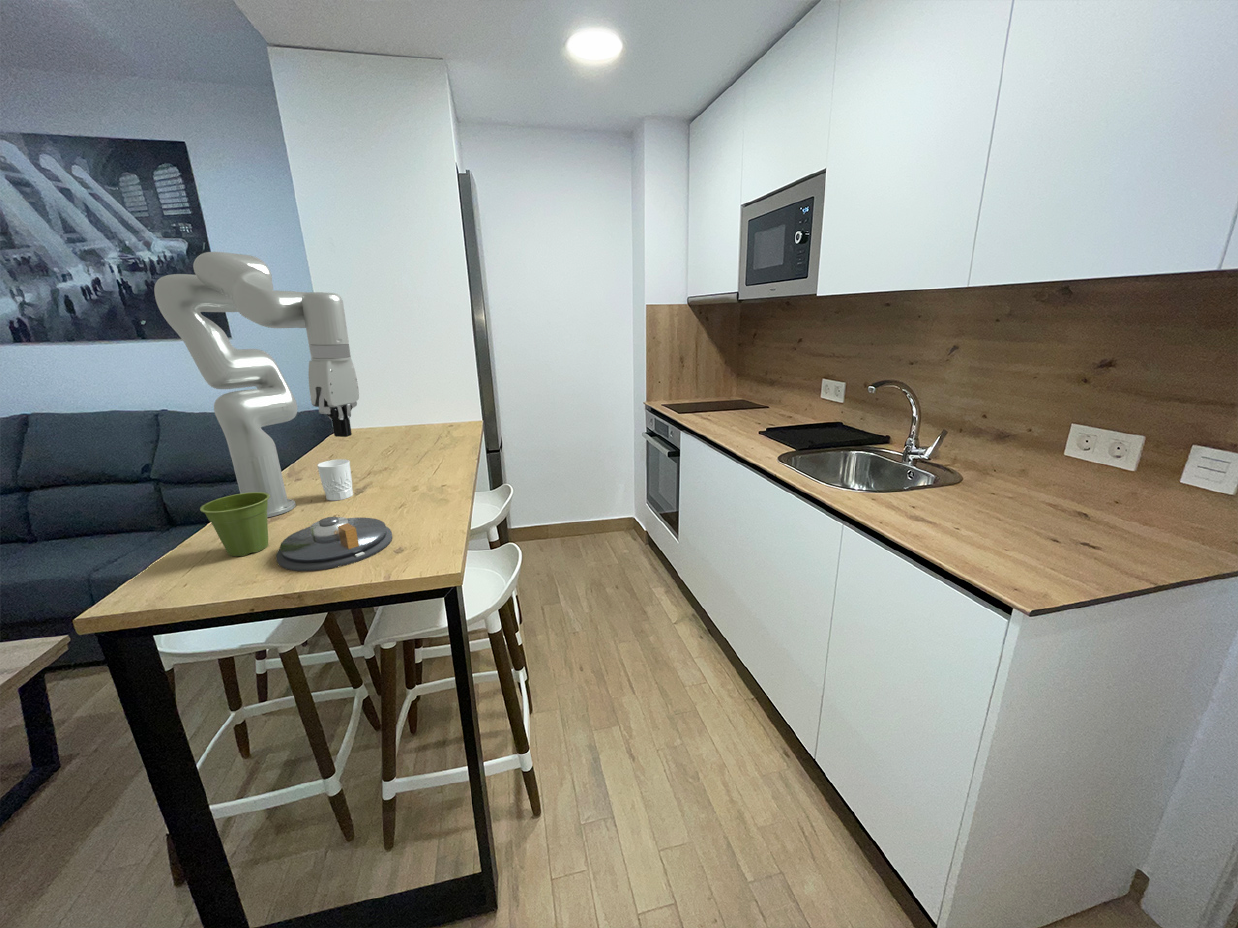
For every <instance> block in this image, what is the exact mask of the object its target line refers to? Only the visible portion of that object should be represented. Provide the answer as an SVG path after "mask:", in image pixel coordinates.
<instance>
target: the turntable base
mask: <svg viewBox="0 0 1238 928" xmlns="http://www.w3.org/2000/svg"><path fill="white" fill-rule="evenodd" d="M386 531H387V534H386V536H385V538H384V539H383V540H382V541H381V542H379V543H378V544H377V545H375V546H373V547H371V548H369V549H367V550H365V551H363V552H360V553H357V554H354V555H351V556H348V557H344V558H340V559H336V560H330V561H324V562H314V563H299V562H292V561H289V560H286V559H285V558H283V556H282V554H281V549H280V548H279V549H278V550H277V552H276V554H275V557H276V563H277V562H278V563H277V565H278V564H279V565H278V566H279V567H281V568H283V569H286V570H287V571H288V570H290V571H294V572H296V571H297V572H314V571H323V570H331V569H335V567H336V568H339V567H338V566H341V567H344V566H343V565H345V566H348V565H351V563H352V564H355V563H358V562H362V561H363V560H365V559H368V558H371V557H372V556H375V555H377V554H378V553H380V552H381V551H383V550H385V549H386V548H387V547H389V545H390V544H391V543H392V540H393V533H392V529H391V528H389V526H386ZM354 562H355V563H354ZM347 564H348V565H347Z"/></svg>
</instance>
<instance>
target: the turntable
mask: <svg viewBox="0 0 1238 928" xmlns="http://www.w3.org/2000/svg"><path fill="white" fill-rule="evenodd" d="M346 518H347V517H346ZM347 519H348V523H346V524H343V525H340V526H338V531H339V536H340V540H338V541H335V542H330V543H316V542H314V541H313V538H312V533H311V528H310V526H307V527H305V528H302V529H300V530H297V531H296V532H294V533H292V534H290V535H289V536H287V537H286V538H284V539H283V540H282V542H281V543H280V545H279V549H281V554H282V556H283V558H285V559H286V560H289V561H292V562H299V563H314V562H324V561H330V560H336V559H340V558H344V557H348V556H351V555H354V554H357V553H360V552H363V551H365V550H367V549H369V548H371V547H373V546H375V545H377V544H378V543H379V542H381V541H382V540H383V539H384V538H385V536H386V534H387V531H386V527H387V525H386V523H385V522H384V521H382V520H380V519H377V518H372V517H348V518H347Z"/></svg>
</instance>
